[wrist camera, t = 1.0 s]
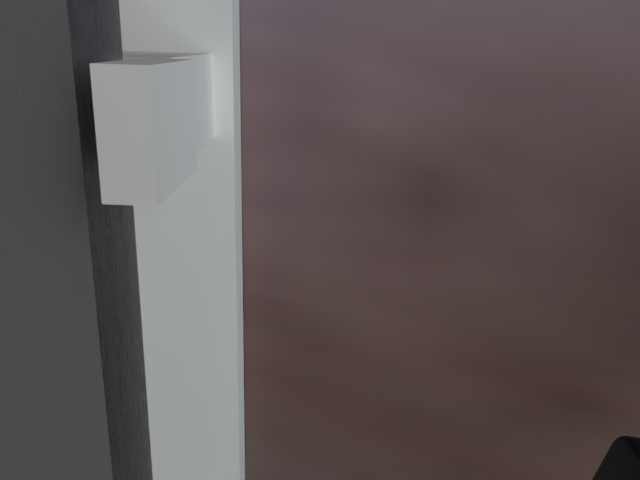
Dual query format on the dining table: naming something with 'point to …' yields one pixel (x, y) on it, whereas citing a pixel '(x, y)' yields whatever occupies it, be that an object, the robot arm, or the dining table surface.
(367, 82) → the dining table surface
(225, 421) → the stand
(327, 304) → the dining table surface
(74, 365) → the metal rail
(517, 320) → the dining table surface
